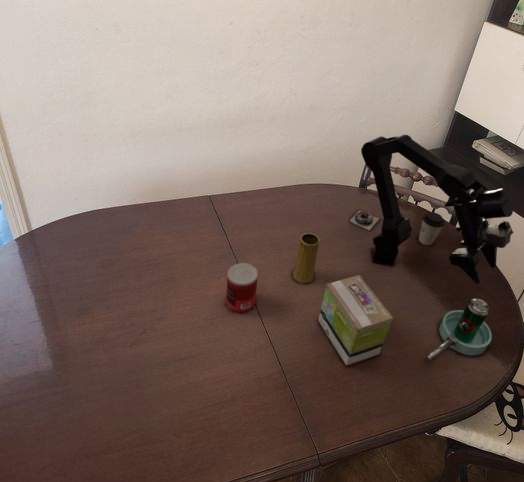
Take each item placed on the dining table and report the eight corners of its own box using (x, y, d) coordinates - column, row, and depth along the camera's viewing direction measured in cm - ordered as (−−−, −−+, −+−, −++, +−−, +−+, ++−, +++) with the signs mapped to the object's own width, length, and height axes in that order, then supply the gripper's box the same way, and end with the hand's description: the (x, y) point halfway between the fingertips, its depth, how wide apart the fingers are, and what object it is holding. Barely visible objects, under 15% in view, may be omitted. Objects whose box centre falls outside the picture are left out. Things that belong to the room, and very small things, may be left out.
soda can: (474, 345, 119) (492, 315, 112) (454, 341, 120) (470, 310, 112) (471, 330, 123) (488, 299, 116) (452, 326, 124) (467, 295, 116)
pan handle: (448, 338, 118) (450, 334, 117) (456, 344, 117) (458, 340, 116) (422, 357, 113) (424, 353, 112) (430, 364, 111) (432, 360, 110)
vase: (315, 272, 136) (323, 235, 128) (310, 286, 132) (318, 248, 123) (296, 266, 138) (302, 229, 129) (290, 279, 133) (296, 242, 124)
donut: (359, 210, 163) (360, 205, 162) (379, 219, 160) (380, 214, 159) (348, 221, 158) (349, 216, 156) (369, 230, 154) (370, 226, 153)
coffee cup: (438, 239, 154) (448, 215, 148) (433, 250, 149) (442, 226, 143) (418, 231, 156) (427, 207, 150) (412, 241, 152) (421, 217, 145)
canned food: (259, 297, 127) (262, 268, 120) (246, 317, 121) (249, 288, 114) (234, 287, 129) (236, 258, 122) (221, 306, 123) (222, 277, 116)
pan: (442, 351, 117) (447, 343, 115) (435, 315, 127) (439, 306, 125) (491, 359, 116) (497, 351, 114) (480, 322, 126) (485, 314, 124)
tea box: (316, 321, 122) (325, 281, 113) (348, 311, 125) (360, 272, 116) (345, 367, 111) (358, 328, 102) (380, 355, 115) (395, 316, 106)
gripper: (484, 231, 105) (502, 293, 108) (517, 203, 116) (532, 259, 119) (440, 234, 114) (457, 291, 117) (475, 207, 125) (490, 260, 128)
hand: (486, 275), depth 120 cm, fingers open, 9 cm apart
